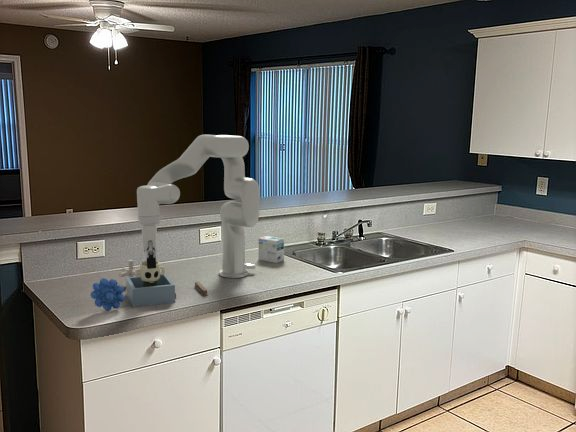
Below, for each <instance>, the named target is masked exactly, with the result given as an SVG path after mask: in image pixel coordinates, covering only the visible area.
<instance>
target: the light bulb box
mask: <svg viewBox="0 0 576 432" xmlns="http://www.w3.org/2000/svg"><path fill="white" fill-rule="evenodd" d="M257 256H258V260H257V261H263V262H269V263H273V264H274V263H275V264H278V263H281V262H283V261H285V238H282V237H277V236H276V237H275V236H271V235H270V236H269V235H265V236H261V237H258V255H257Z"/></svg>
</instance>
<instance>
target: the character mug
mask: <svg viewBox="0 0 576 432" xmlns="http://www.w3.org/2000/svg"><path fill="white" fill-rule="evenodd" d="M139 264H140V265H139V266H140V267H139V268H140V269H138V268H135V269H136V270H135V276H134V277H136V278H139V277H141V280H143V281H144V283H143V287H151V286H158V283H157V280H158V279H159V278H160V275H163V274H166V272H165V270H166V269H165V266H163V265H162V266H161V265H160V261H158V260H156V268H152V269H148V268H147V260H144V261H141V262H140V263H139ZM138 271H140V274H141V275H138Z"/></svg>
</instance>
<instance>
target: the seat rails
mask: <svg viewBox="0 0 576 432" xmlns="http://www.w3.org/2000/svg"><path fill="white" fill-rule="evenodd" d="M194 287H195V288H196V289H197V290H198V291H199V293H200V294H201V295H202V296H203V297H205V296H208V289H207V288H206V287H205V286H204V285H203V284H202V283H201V282H200V281H197V280H196V281H194ZM176 299H177V292H175V300H176Z"/></svg>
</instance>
